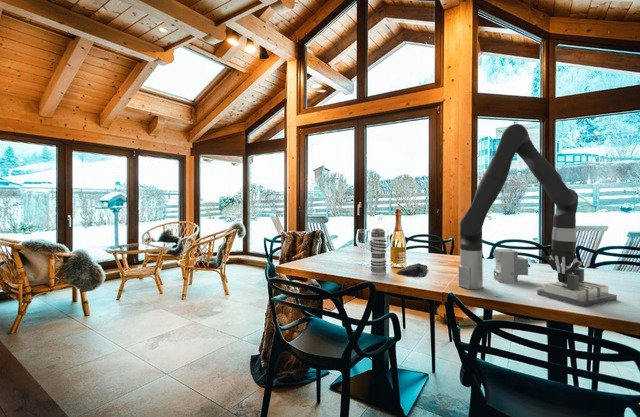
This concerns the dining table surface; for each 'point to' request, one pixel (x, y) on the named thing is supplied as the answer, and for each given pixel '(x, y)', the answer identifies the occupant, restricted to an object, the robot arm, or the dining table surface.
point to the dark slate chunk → (414, 270)
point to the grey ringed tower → (378, 251)
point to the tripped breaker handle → (573, 281)
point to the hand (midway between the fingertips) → (562, 282)
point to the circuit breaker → (509, 265)
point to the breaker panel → (581, 301)
